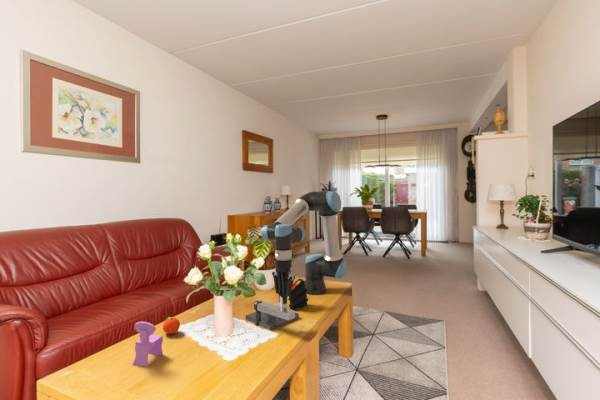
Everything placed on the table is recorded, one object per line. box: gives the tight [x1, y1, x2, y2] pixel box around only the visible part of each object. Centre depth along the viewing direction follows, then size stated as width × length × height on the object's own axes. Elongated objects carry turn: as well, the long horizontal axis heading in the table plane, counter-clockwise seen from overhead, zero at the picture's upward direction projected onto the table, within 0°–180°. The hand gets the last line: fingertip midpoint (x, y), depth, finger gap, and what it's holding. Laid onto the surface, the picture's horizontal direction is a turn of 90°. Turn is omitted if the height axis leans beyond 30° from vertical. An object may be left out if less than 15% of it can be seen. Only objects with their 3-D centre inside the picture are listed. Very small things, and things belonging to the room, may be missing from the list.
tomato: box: [162, 316, 181, 335], centre depth 132 cm, size 8×7×7 cm
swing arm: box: [253, 300, 296, 321], centre depth 136 cm, size 22×4×3 cm, turn 53°
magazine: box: [287, 278, 309, 311], centre depth 163 cm, size 4×13×15 cm, turn 136°
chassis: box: [245, 301, 300, 331], centre depth 148 cm, size 20×18×7 cm
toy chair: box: [132, 321, 164, 368], centre depth 111 cm, size 8×9×15 cm
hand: (283, 310), depth 137 cm, fingers closed
